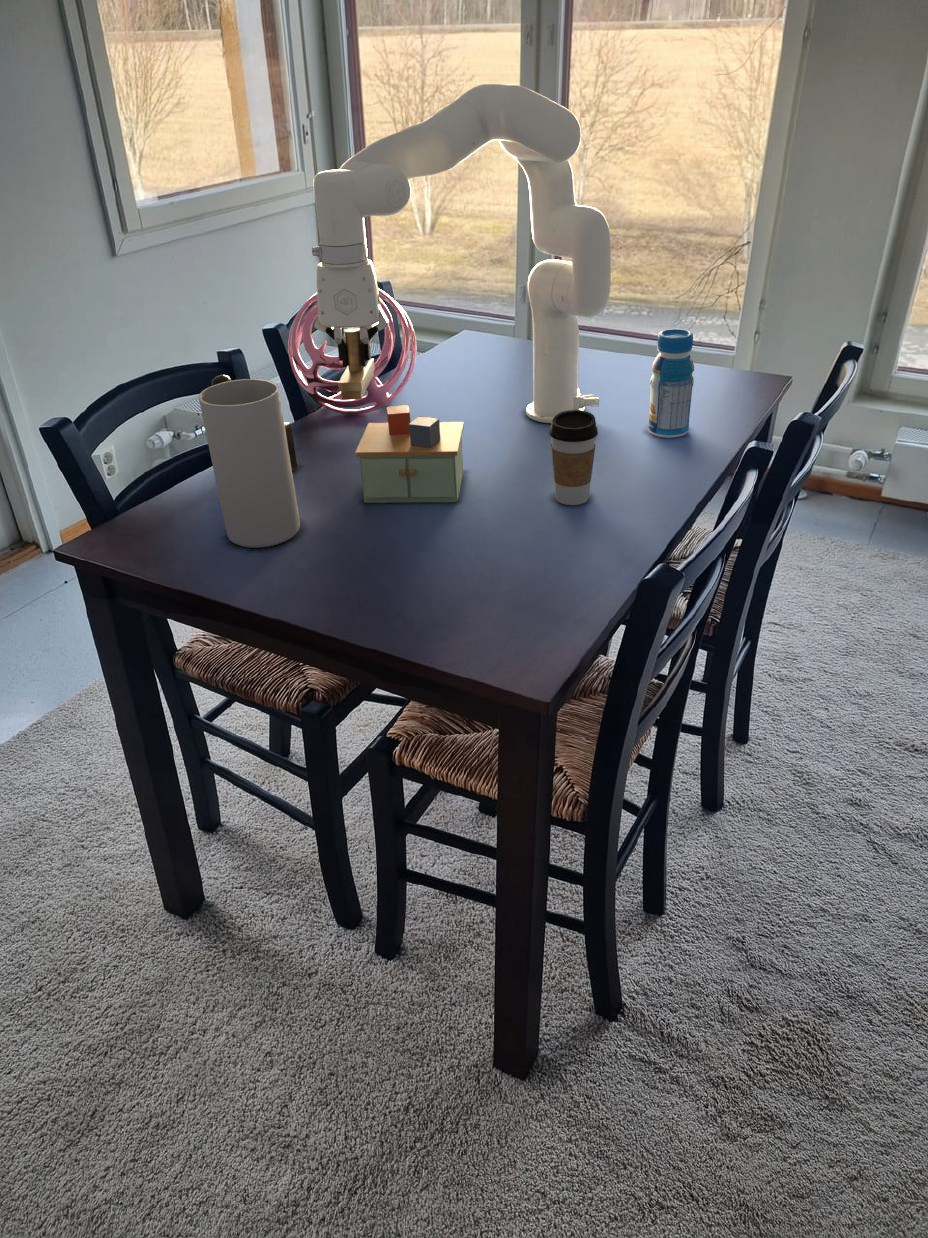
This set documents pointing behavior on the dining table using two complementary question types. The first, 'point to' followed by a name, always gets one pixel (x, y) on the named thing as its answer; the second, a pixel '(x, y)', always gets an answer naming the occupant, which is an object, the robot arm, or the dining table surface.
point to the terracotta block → (398, 419)
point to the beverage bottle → (671, 384)
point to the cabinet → (410, 466)
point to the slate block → (424, 432)
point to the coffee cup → (573, 455)
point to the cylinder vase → (251, 461)
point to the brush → (355, 368)
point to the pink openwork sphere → (375, 391)
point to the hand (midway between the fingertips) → (355, 363)
